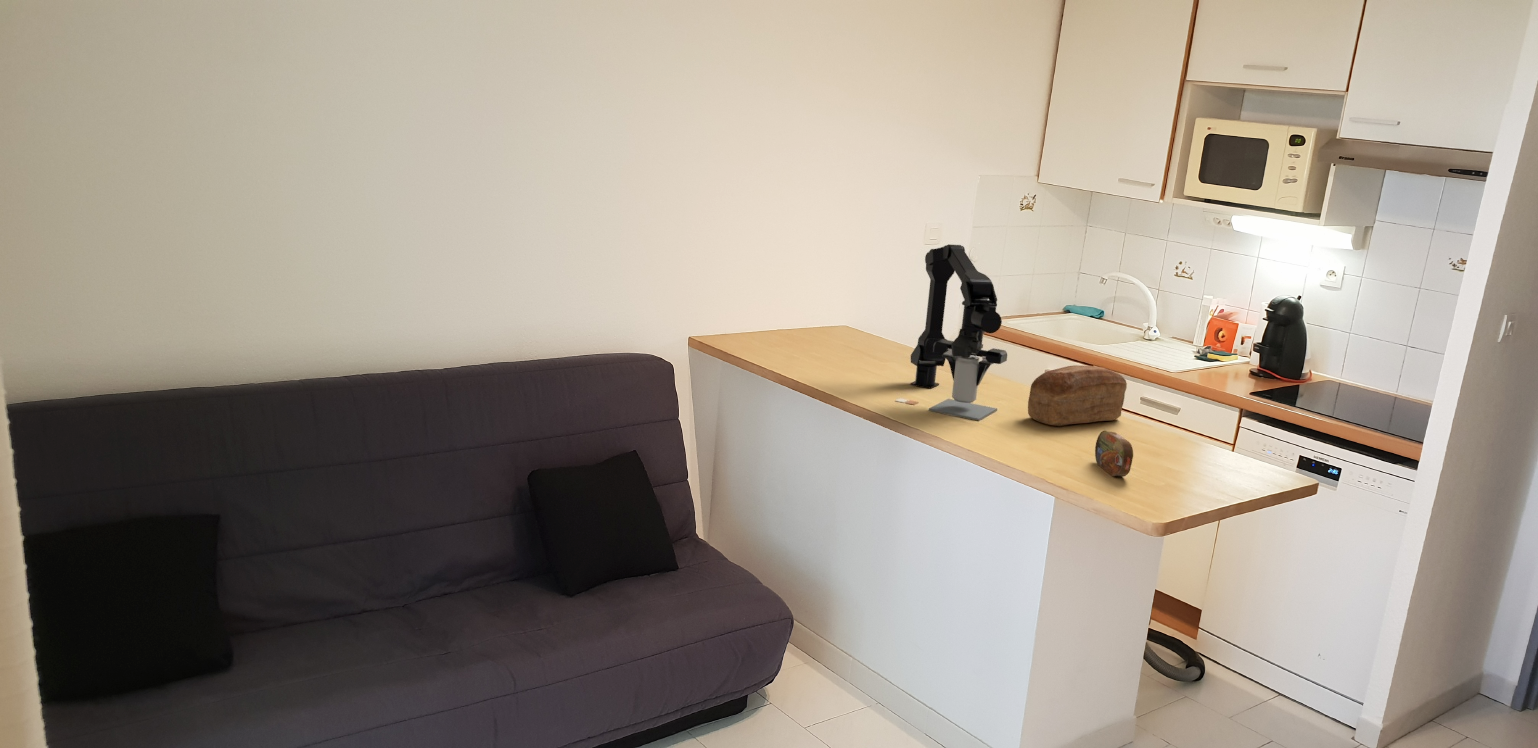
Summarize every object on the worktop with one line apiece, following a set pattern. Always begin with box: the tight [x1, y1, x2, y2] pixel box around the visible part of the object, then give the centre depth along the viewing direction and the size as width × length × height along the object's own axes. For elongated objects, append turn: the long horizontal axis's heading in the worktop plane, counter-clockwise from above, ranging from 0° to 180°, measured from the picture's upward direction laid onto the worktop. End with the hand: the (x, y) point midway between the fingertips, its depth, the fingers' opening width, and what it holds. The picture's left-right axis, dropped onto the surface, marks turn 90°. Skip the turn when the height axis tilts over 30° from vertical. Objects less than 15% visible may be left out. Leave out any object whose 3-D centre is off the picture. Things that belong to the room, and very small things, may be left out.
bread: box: [1027, 364, 1128, 427], centre depth 282 cm, size 12×28×14 cm, turn 120°
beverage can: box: [951, 355, 981, 404], centre depth 282 cm, size 6×6×12 cm
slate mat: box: [928, 398, 998, 422], centre depth 284 cm, size 14×14×1 cm
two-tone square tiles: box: [894, 397, 920, 406], centre depth 289 cm, size 3×6×1 cm, turn 59°
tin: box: [1094, 429, 1134, 478], centre depth 240 cm, size 15×3×8 cm, turn 5°
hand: (966, 383), depth 282 cm, fingers closed on beverage can, 6 cm apart
